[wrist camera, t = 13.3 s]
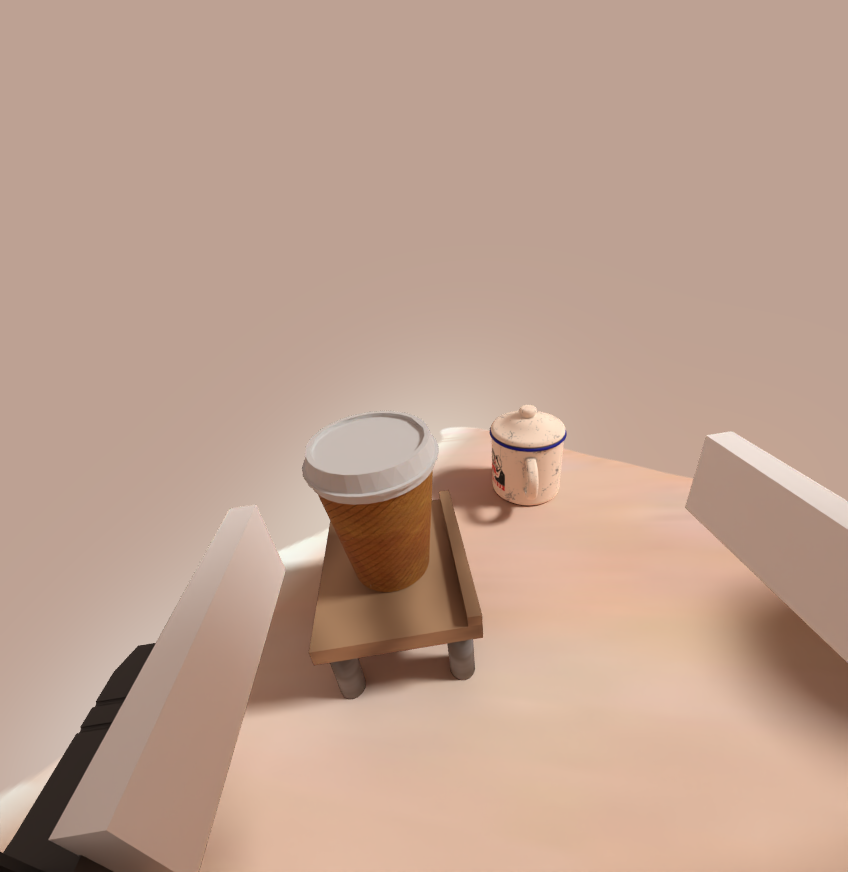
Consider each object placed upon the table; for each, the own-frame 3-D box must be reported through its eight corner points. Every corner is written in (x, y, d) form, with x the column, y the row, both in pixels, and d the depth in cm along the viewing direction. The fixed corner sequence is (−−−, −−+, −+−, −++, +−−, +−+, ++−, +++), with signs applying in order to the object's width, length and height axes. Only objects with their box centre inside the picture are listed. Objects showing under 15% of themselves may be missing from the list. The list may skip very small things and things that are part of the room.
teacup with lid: (490, 466, 55) (488, 393, 49) (554, 466, 54) (561, 390, 48) (491, 524, 45) (490, 440, 39) (571, 525, 43) (582, 438, 38)
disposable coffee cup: (313, 569, 32) (270, 449, 26) (394, 508, 38) (374, 399, 32) (390, 636, 26) (358, 500, 20) (471, 552, 32) (465, 427, 26)
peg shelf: (453, 550, 42) (448, 490, 38) (484, 683, 30) (482, 615, 26) (346, 567, 41) (329, 507, 37) (333, 709, 29) (304, 644, 25)
